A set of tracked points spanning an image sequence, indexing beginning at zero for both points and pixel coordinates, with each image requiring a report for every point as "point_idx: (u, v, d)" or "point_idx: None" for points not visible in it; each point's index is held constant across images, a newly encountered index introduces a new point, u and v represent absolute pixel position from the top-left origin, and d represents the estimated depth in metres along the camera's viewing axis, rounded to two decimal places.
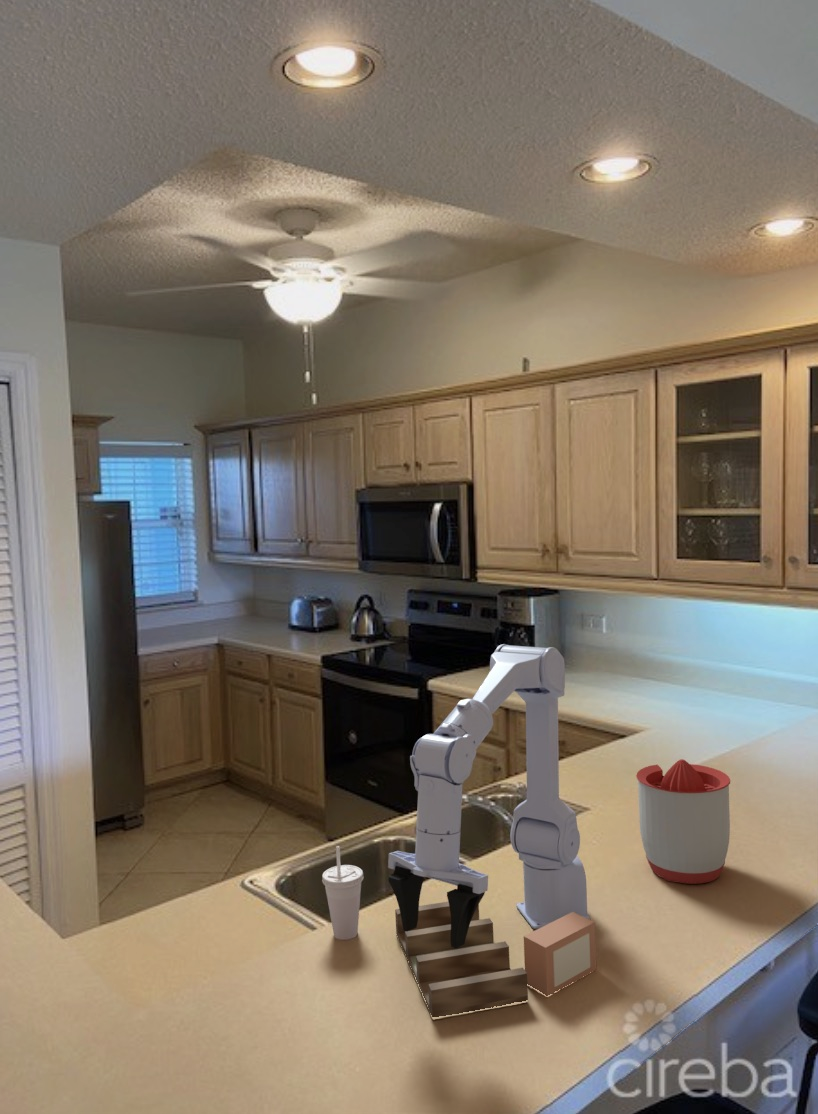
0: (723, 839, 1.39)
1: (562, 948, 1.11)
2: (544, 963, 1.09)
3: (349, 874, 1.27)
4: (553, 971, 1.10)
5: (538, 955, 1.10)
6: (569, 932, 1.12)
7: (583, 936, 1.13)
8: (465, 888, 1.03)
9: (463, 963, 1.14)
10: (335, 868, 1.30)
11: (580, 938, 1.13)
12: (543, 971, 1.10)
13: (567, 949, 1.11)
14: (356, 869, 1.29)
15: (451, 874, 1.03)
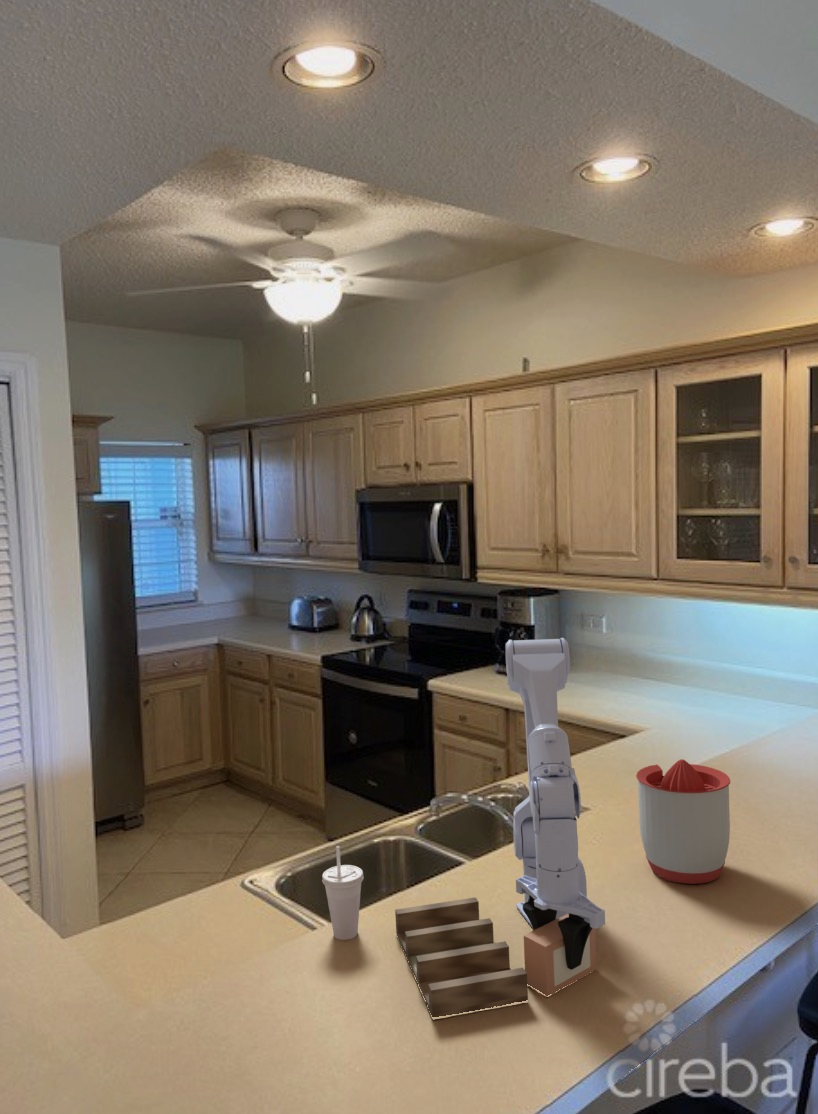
0: (723, 839, 1.39)
1: (562, 947, 1.11)
2: (544, 962, 1.09)
3: (349, 874, 1.27)
4: (553, 971, 1.10)
5: (538, 954, 1.10)
6: None
7: None
8: (575, 918, 1.10)
9: (463, 963, 1.14)
10: (335, 868, 1.30)
11: None
12: (543, 971, 1.10)
13: None
14: (356, 869, 1.29)
15: (569, 908, 1.09)
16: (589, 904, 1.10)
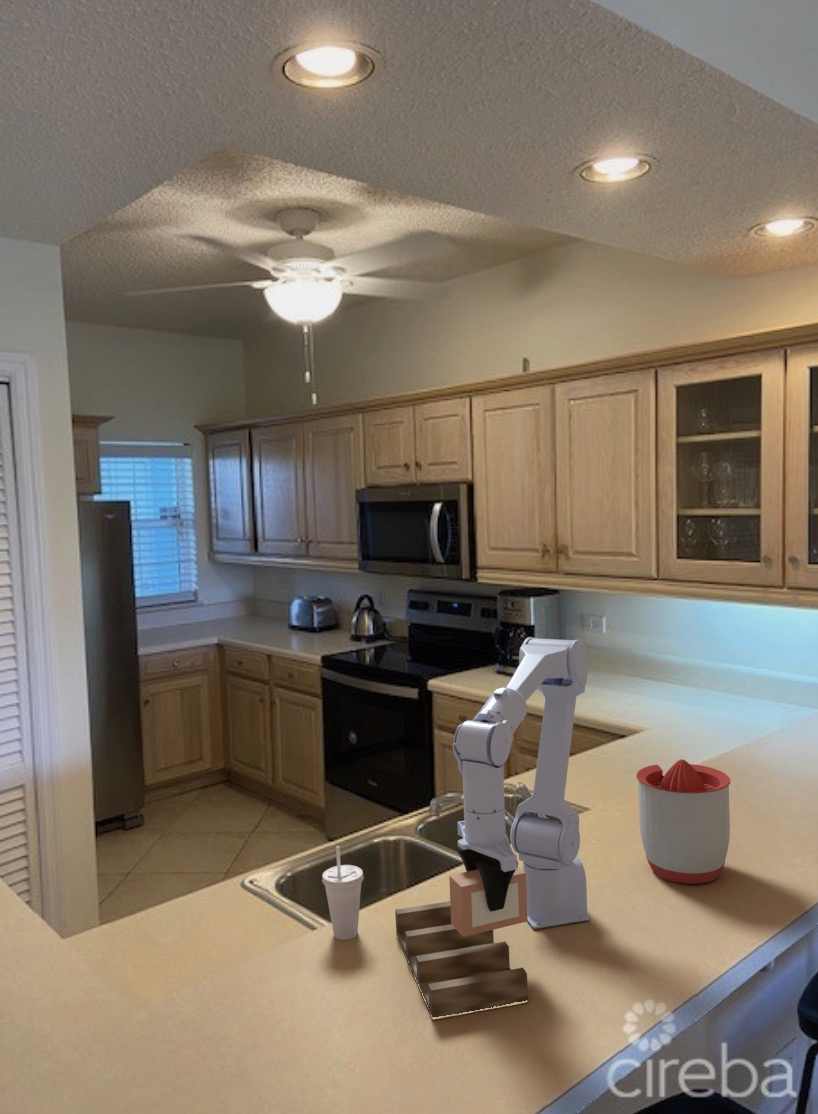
0: (723, 839, 1.39)
1: (482, 891, 1.13)
2: (461, 902, 1.12)
3: (349, 874, 1.27)
4: (471, 912, 1.13)
5: (457, 894, 1.13)
6: None
7: (510, 884, 1.15)
8: (492, 860, 1.12)
9: (463, 963, 1.14)
10: (335, 868, 1.30)
11: None
12: (460, 910, 1.13)
13: None
14: (356, 869, 1.29)
15: (485, 850, 1.11)
16: (507, 849, 1.11)
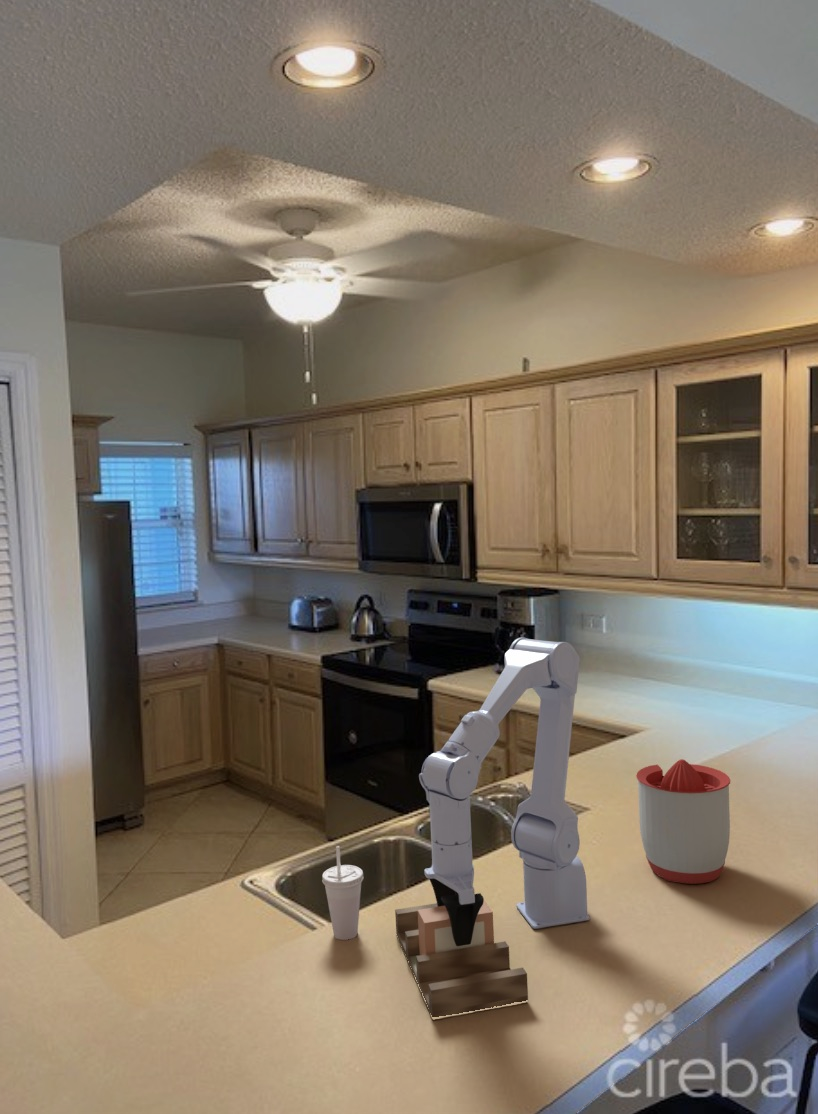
0: (723, 839, 1.39)
1: (447, 928, 1.15)
2: (424, 938, 1.15)
3: (349, 874, 1.27)
4: (434, 948, 1.15)
5: (422, 929, 1.16)
6: None
7: (476, 922, 1.16)
8: (457, 896, 1.12)
9: (463, 963, 1.14)
10: (335, 868, 1.30)
11: None
12: (424, 945, 1.15)
13: None
14: (356, 869, 1.29)
15: (446, 881, 1.13)
16: (468, 881, 1.13)
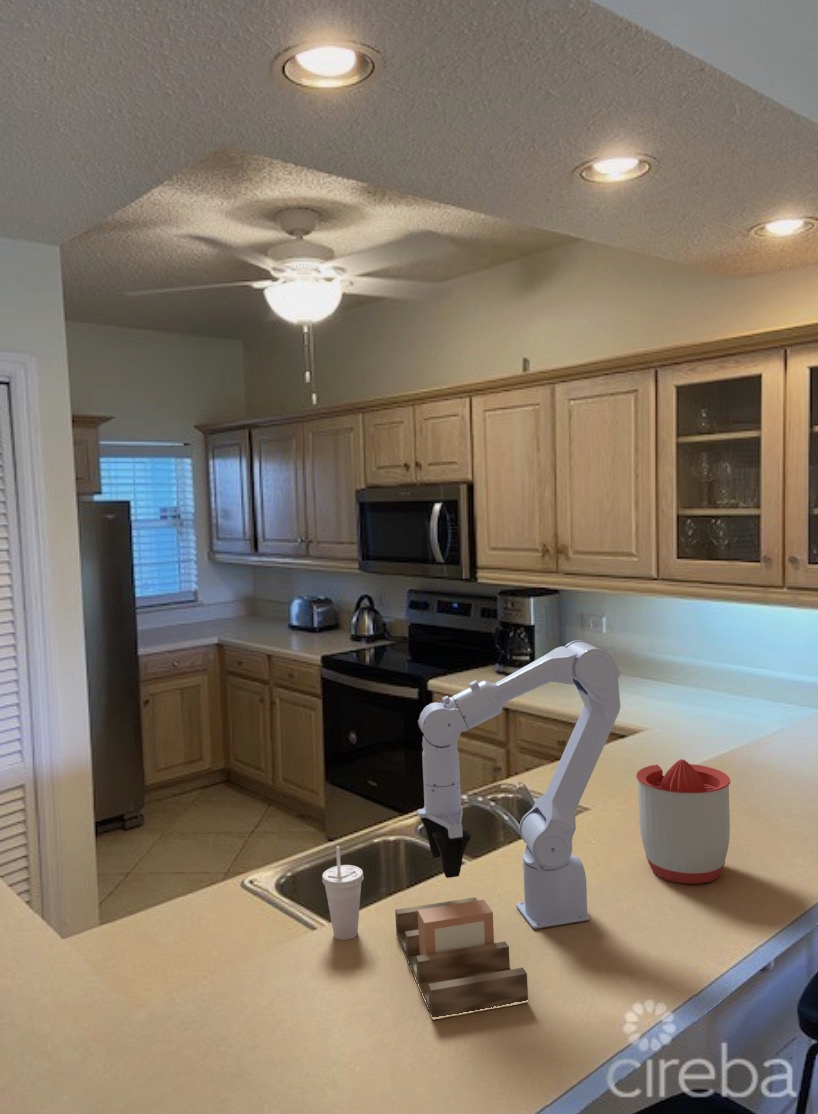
0: (723, 839, 1.39)
1: (447, 928, 1.15)
2: (424, 938, 1.15)
3: (349, 874, 1.27)
4: (434, 948, 1.15)
5: (422, 929, 1.16)
6: (460, 915, 1.16)
7: (476, 922, 1.16)
8: (446, 832, 1.24)
9: (463, 963, 1.14)
10: (335, 868, 1.30)
11: (471, 923, 1.16)
12: (424, 945, 1.15)
13: (453, 930, 1.15)
14: (356, 869, 1.29)
15: (437, 819, 1.25)
16: (456, 819, 1.25)
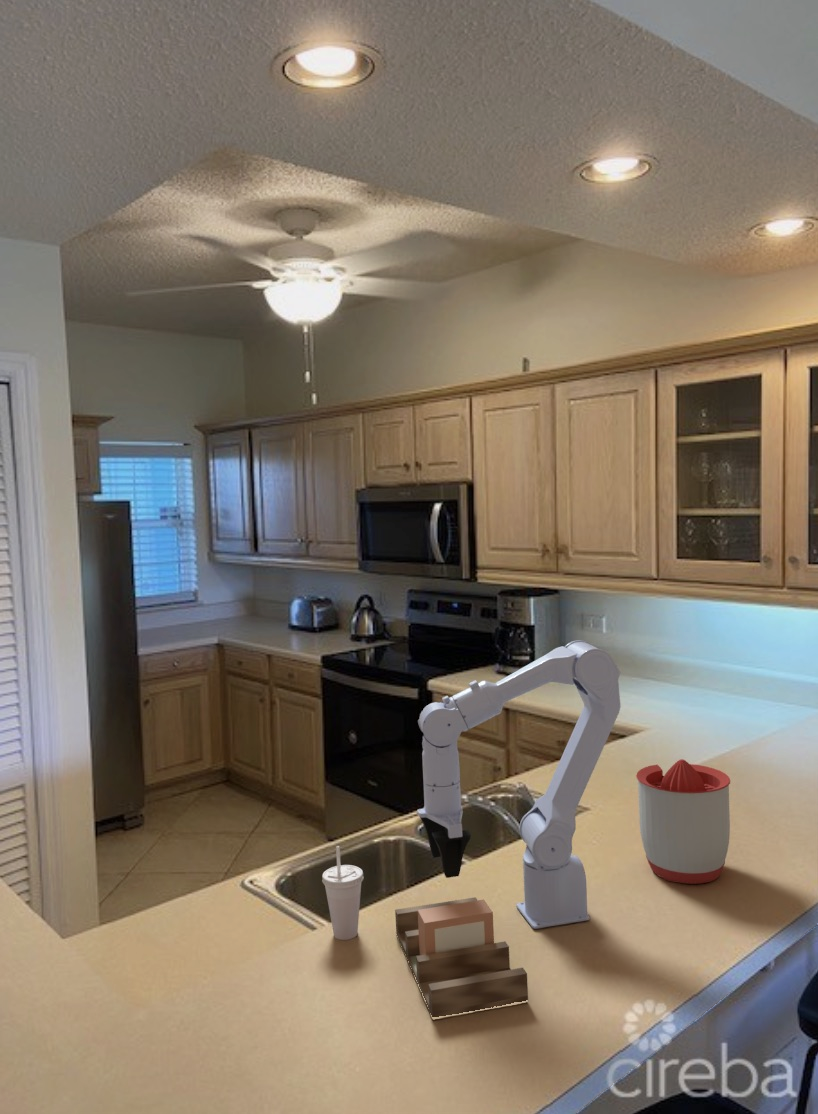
0: (723, 839, 1.39)
1: (447, 928, 1.15)
2: (424, 938, 1.15)
3: (349, 874, 1.27)
4: (434, 948, 1.15)
5: (422, 929, 1.16)
6: (460, 915, 1.16)
7: (476, 922, 1.16)
8: (446, 832, 1.24)
9: (463, 963, 1.14)
10: (335, 868, 1.30)
11: (471, 923, 1.16)
12: (424, 945, 1.15)
13: (453, 930, 1.15)
14: (356, 869, 1.29)
15: (437, 819, 1.25)
16: (456, 819, 1.25)
